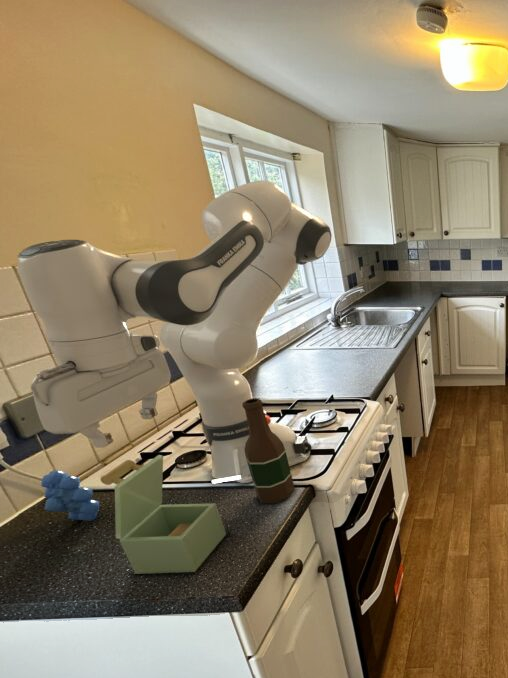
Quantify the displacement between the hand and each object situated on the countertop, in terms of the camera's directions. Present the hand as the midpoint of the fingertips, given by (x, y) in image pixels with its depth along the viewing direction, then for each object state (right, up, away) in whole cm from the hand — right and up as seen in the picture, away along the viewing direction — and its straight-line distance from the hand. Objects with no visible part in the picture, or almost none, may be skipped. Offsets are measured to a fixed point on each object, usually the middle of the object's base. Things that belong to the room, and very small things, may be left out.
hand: (129, 430), depth 69 cm
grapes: (-28, -22, +18) cm, 40 cm away
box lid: (-2, -12, +5) cm, 14 cm away
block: (+2, -24, +10) cm, 26 cm away
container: (+1, -25, +10) cm, 27 cm away
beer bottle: (+9, -18, +27) cm, 34 cm away
